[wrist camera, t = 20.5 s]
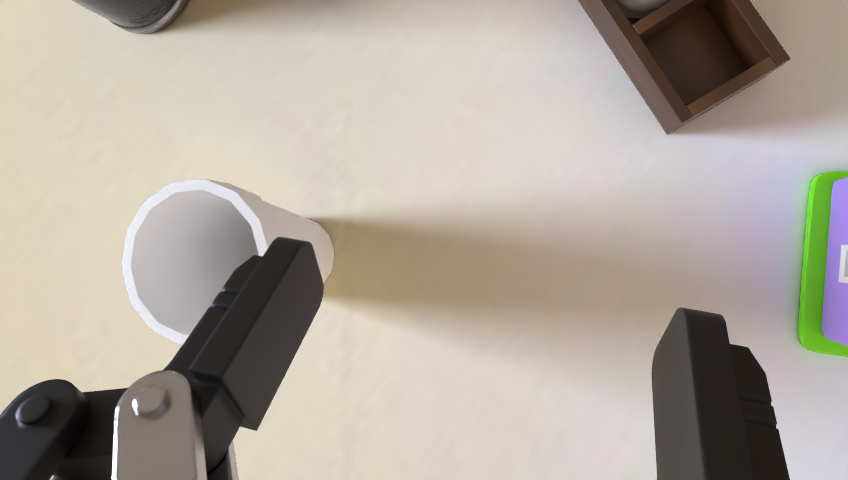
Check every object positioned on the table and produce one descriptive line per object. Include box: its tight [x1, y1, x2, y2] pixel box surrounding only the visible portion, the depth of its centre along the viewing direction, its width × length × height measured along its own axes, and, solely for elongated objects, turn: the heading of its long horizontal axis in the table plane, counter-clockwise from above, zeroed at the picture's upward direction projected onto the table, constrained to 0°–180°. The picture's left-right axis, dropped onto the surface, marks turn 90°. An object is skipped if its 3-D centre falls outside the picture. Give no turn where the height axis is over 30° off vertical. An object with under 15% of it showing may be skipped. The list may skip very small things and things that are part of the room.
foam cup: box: [122, 179, 335, 345], centre depth 34 cm, size 10×9×13 cm
